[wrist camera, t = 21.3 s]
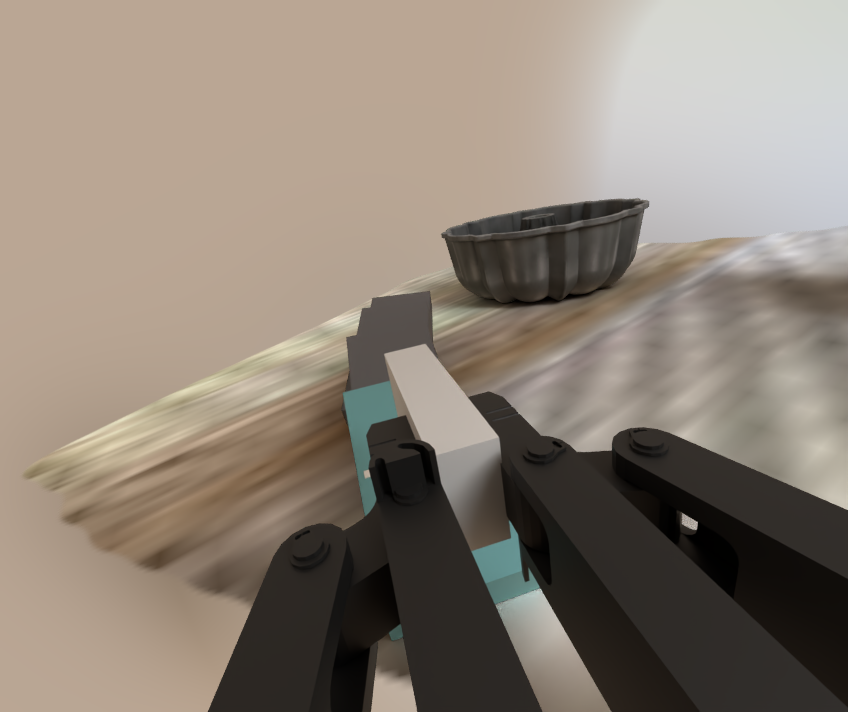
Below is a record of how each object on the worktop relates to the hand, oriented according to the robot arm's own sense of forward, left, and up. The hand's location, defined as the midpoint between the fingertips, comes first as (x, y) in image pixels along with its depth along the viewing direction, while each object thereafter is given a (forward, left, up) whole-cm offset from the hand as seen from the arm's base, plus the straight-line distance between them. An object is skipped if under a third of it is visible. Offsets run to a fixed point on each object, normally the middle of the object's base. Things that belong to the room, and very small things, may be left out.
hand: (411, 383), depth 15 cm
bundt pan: (-3, -48, -9) cm, 49 cm away
